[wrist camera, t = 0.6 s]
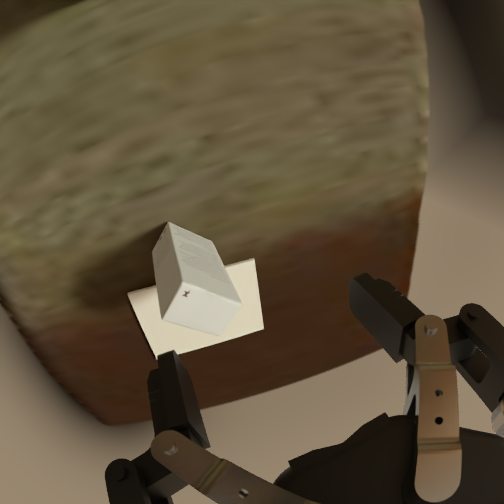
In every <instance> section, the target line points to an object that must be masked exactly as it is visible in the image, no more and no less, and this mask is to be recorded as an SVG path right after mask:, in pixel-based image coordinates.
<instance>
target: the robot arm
mask: <svg viewBox="0 0 504 504" xmlns="http://www.w3.org/2000/svg"><path fill="white" fill-rule="evenodd" d="M349 285H350V306H351V310H352V312H353V314H354V315H355V317H356V318H357V319H358V320H359V321H360V322H361V323H362V325H363V326H364V327H365V328H366V329H367V330H368V331H369V333H370V334H371V335H372V336H373V337H374V338H375V339H376V340H377V342H378V343H379V344H380V345H381V346H382V347H383V348H384V350H385V351H386V352H387V353H388V354H389V355H390V356H391V357H392V359H393V360H394V361H395V362H396V363H397V362H399V361H401V360H402V359H405V360H406V361H407V366H406V397H405V406H404V411H403V415H397V416H392V417H388V415H387V414H386V413H383V414H381V415H380V416H378V417H376V418H374V419H373V420H371V421H369V422H367V423H366V424H364V425H363V426H361V427H360V428H359V429H358V430H357V431H356V432H355V433H354V434H353V435H351V436H350V437H349V438H348V439H347V440H346V441H344V442H343V443H341V444H338V445H334V446H330V447H325V448H321V449H316V450H312V451H310V452H308V453H306V454H304V455H301V456H299V457H297V458H294V459H292V460H290V461H288V462H289V465H290V467H289V468H287V469H286V470H285V471H284V472H283V473H281V474H280V476H279V477H278V478H277V479H276V480H275V482H274V483H273V484H272V483H270V482H267V481H266V480H264V479H262V478H260V477H257V476H256V475H254V474H252V473H250V472H248V471H246V470H244V469H243V468H241V467H239V466H237V465H235V464H233V463H232V462H230V461H228V460H226V459H221V458H218V457H217V456H215V455H213V454H211V453H210V452H208V451H207V450H205V449H206V448H209V447H210V443H209V440H208V437H207V434H206V430H205V427H204V423H203V420H202V417H201V413H200V409H199V406H198V402H197V399H196V395H195V391H194V388H193V384H192V381H191V378H190V376H189V374H188V372H187V370H186V368H185V367H184V365H183V363H182V362H181V360H180V358H179V357H178V355H177V353H176V352H175V350H171V351H168V352H165V353H163V354H160V355H157V360H158V367H159V368H158V369H155V370H152V371H150V374H149V377H148V380H147V385H148V392H149V400H150V407H151V413H152V420H153V425H154V432H155V437H154V439H153V441H152V443H151V447H150V448H149V449H148V450H147V451H146V452H145V453H143V454H142V455H140V456H139V457H137V458H135V459H134V460H132V461H129V460H127V459H116V460H114V461H112V462H111V463H110V464H109V465H108V467H107V469H106V471H105V480H106V487H107V492H108V497H109V502H110V504H173V501H172V498H171V495H173V494H174V493H176V492H178V491H179V490H181V489H182V488H184V487H185V486H187V485H191V486H192V487H194V488H195V489H196V490H198V491H199V492H201V493H202V494H204V495H205V496H207V497H208V498H210V499H211V500H213V501H215V502H216V503H218V504H504V327H503V326H502V325H501V324H500V323H499V322H498V321H497V320H496V319H495V318H494V317H493V316H492V315H491V314H490V313H488V312H487V311H486V310H485V309H484V308H483V307H482V306H480V305H477V304H473V303H471V304H466V305H464V306H463V307H462V308H461V310H460V313H459V315H457V316H454V317H450V318H446V319H441V318H440V317H438V316H435V315H425V314H424V313H422V311H420V310H419V309H418V308H417V307H416V306H415V305H414V304H413V303H412V302H411V301H409V300H408V299H407V298H406V297H405V296H403V294H402V293H401V292H399V291H397V289H396V288H395V287H394V286H393V285H391V284H390V283H389V282H387V281H384V280H382V279H379V278H378V279H376V280H374V279H373V278H372V277H371V276H370V275H369V274H368V273H362V274H360V275H358V276H356V277H354V278H351V279H350V282H349ZM477 347H478V348H479V349H480V350H481V351H480V350H479V349H478V348H477ZM456 369H457V371H458V372H459V373H460V374H461V375H462V376H463V378H464V379H465V380H466V381H467V382H468V384H469V385H470V386H471V387H472V388H473V390H474V391H475V392H476V393H477V394H478V396H479V397H480V398H481V399H482V401H483V402H484V403H485V405H486V406H487V407H488V408H489V410H490V411H491V412H492V417H491V419H492V424H493V426H492V427H493V430H494V432H496V434H491V433H486V432H481V431H476V430H471V429H467V428H462V427H459V405H458V388H457V376H456V375H457V374H456Z"/></svg>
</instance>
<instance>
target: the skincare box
mask: <svg viewBox="0 0 504 504" xmlns="http://www.w3.org/2000/svg"><path fill="white" fill-rule="evenodd" d="M152 256H153V264H154V272H155V280H156V287H157V294H158V301H159V307H160V314H161V319H162V320H164V321H167V322H170V323H174V324H177V325H180V326H184V327H187V328H191V329H195V330H198V331H202V332H205V333H209V334H213V335H216V336H220V335H221V334H222V332H223V331H224V329H225V328H226V327H227V325H228V324H229V322H230V321H231V320H232V318H233V317H234V316H235V314H236V313H237V312H238V310H239V309H240V308H241V306H242V305H243V304H242V302H241V300H240V298H239V295H238V294H237V291H236V290H235V288H234V285H233V283H232V281H231V279H230V277H229V275H228V273H227V271H226V269H225V267H224V265H223V263H222V261H221V259H220V257H219V255H218V252H217V250H216V248H215V246H214V244H213V242H212V241H210V240H208V239H205V238H203V237H201V236H199V235H197V234H194V233H192V232H190V231H188V230H185V229H183V228H181V227H179V226H177V225H174V224H172V223H170V222H168V223H167V225H166V227H165V228H164V230H163V232H162V234H161V236H160V238H159V240H158V241H157V243H156V245H155V247H154V249H153V251H152Z"/></svg>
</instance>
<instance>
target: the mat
mask: <svg viewBox="0 0 504 504" xmlns="http://www.w3.org/2000/svg"><path fill="white" fill-rule="evenodd" d="M224 267H225V269H226V271H227V273H228V275H229V277H230V279H231V281H232V283H233V285H234V288H235V290H236V291H237V294H238V295H239V298H240V300H241V302H242V304H243V305H242V306H241V308H240V309H239V310H238V312H237V313H236V314H235V316H234V317H233V318H232V320H231V321H230V322H229V324H228V325H227V327H226V328H225V329H224V331H223V332H222V334H221V335H220V336H216V335H213V334H209V333H205V332H202V331H198V330H195V329H191V328H187V327H184V326H180V325H177V324H174V323H170V322H167V321H164V320H162V319H161V314H160V307H159V301H158V294H157V287H156V285H154V286H150V287H146V288H143V289H139V290H135V291H132V292H128V297H129V299H130V302H131V304H132V306H133V309H134V311H135V313H136V316H137V318H138V320H139V322H140V325H141V327H142V329H143V331H144V333H145V335H146V338H147V340H148V342H149V344H150V346H151V348H152V350H153V352H154V354H155V356H156V358H157V355H160V354H163V353H165V352H168V351H171V350H175V352H176V353H177V354H181V353H185V352H188V351H192V350H195V349H199V348H202V347H206V346H209V345H213V344H216V343H220V342H223V341H226V340H230V339H233V338H236V337H239V336H243V335H246V334H249V333H252V332H255V331H258V330H262V329H264V327H263V320H262V312H261V305H260V297H259V290H258V283H257V275H256V268H255V260H254V258H251V259H247V260H244V261H240V262H237V263H233V264H230V265H226V266H224Z"/></svg>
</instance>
